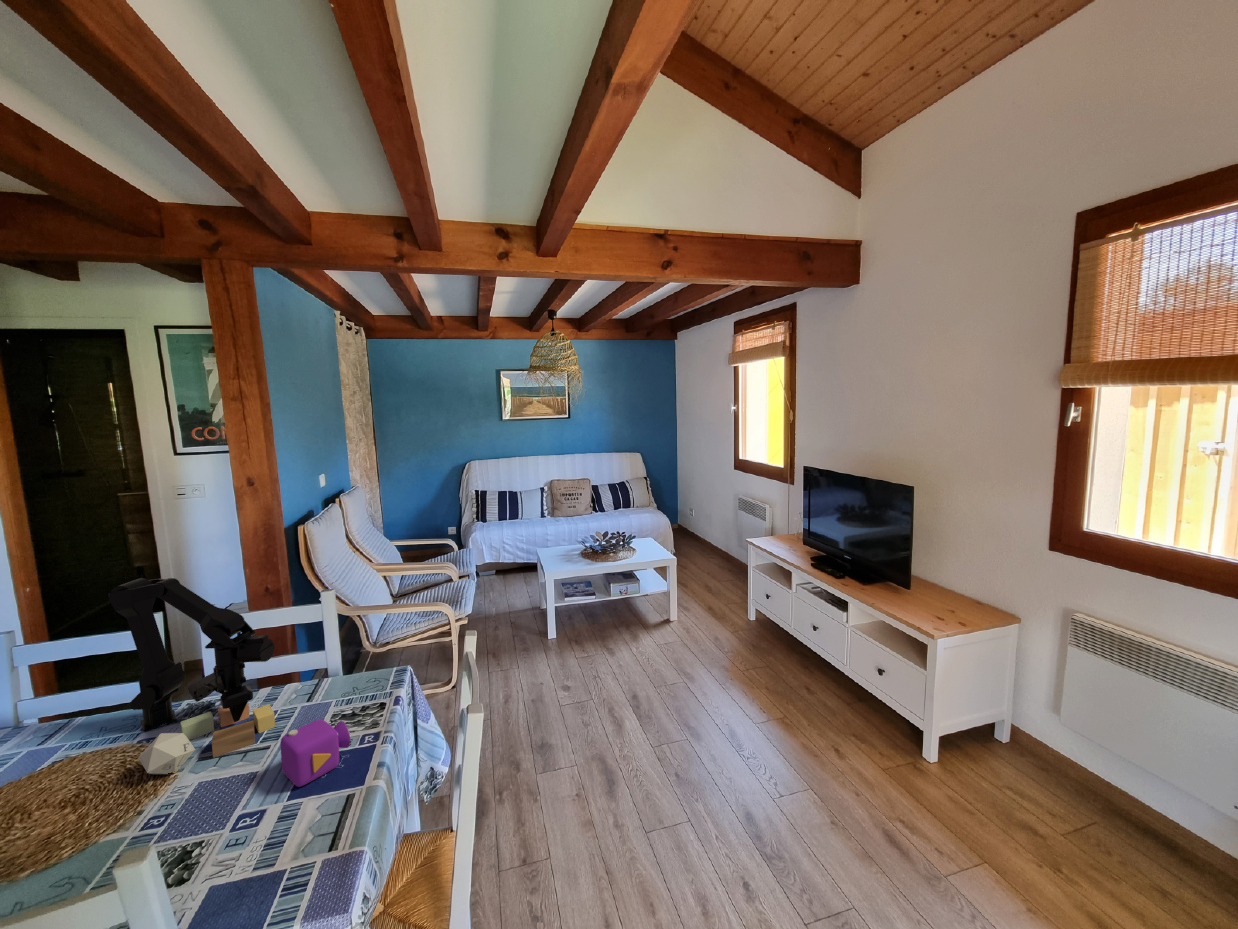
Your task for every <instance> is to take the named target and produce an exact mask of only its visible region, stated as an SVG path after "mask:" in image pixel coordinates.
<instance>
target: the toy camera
mask: <svg viewBox="0 0 1238 929" xmlns="http://www.w3.org/2000/svg"><path fill="white" fill-rule="evenodd" d="M350 733H351V732H350V730H349V727H347V725H346V723H345V722H344V721H342V720H341V721H338V723H337V724H336V725H335V727H333V726H332V725H331V724H329V723H328V722H327V721H325V720H324V719H320V718H319V719H316V720H314V721H312V722H310V723H307V724H305V725H303V726H301V727H298V728H296V729H292V730H289V731H288V733H286V734H284V735H283V736H282V737H281V739H280V745H279V746H280V757H281V758H280V759H281V769H282V772H283V774H285V776H286V777H287V778H288V779H289V780H290V782H291V783H292V784H293V785H294V786H296V787H297V788H298V787H299V788H301V787H303V786H305V785H308V784H309V783H311V782H313V781H314V780H317V779H319V778H320V777H321V776H323V775H325V774H327V773H329V772H330V771H332V770H334V769H335V768H337V766H339V764H340V748H342V749H347V748H349V747H350V745H351V736H350Z"/></svg>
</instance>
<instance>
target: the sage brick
mask: <svg viewBox="0 0 1238 929" xmlns="http://www.w3.org/2000/svg"><path fill="white" fill-rule="evenodd" d="M214 724H215V723H214V716H213V714H212V711H211V710H210V711H207V712H205V713H202V714H201V713H200V714H199V715H197V716H193V717H191V718H188V719H185V720H182V721H180V731H181V732H180V733H184V734H185V735H186V737H187V738H188V740H189V741H191V740H193V739H196V738H198V737H201V736H204V735H206V734H209V733H213V732H215V725H214Z"/></svg>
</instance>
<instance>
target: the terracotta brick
mask: <svg viewBox="0 0 1238 929" xmlns="http://www.w3.org/2000/svg"><path fill="white" fill-rule="evenodd" d="M249 704H250V703H247V705H246V707H245V709H244V711H243V713H242V716H241V718H240V720H239V721H237V722H234V721H233V718H232V715H231V712H230V710H229V708H227V709H223V707H222V706H221V707H218V708H217V715H218V716H217V717H218V723H219V726H220V727H221V729H223V728H225V727H227V726H230V725H233V724H236V723H238V722H241V721H243V720H246V719H249V718H250V716H251V715H250V706H249Z"/></svg>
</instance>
